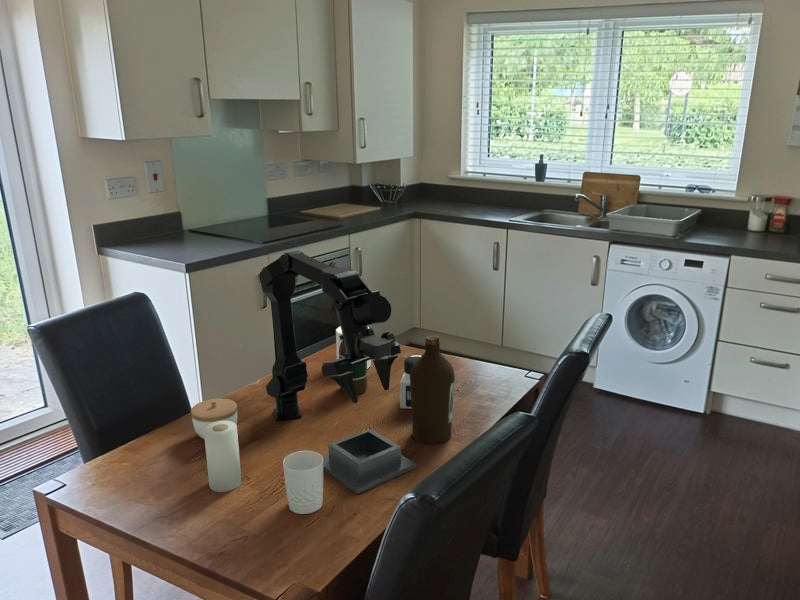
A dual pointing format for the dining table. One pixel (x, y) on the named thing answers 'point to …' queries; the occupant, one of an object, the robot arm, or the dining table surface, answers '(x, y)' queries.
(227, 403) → the lidded jar
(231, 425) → the white paper towel roll
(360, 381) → the beer bottle
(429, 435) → the olive oil
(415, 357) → the container
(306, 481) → the white cup
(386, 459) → the square open box
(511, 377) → the dining table surface
